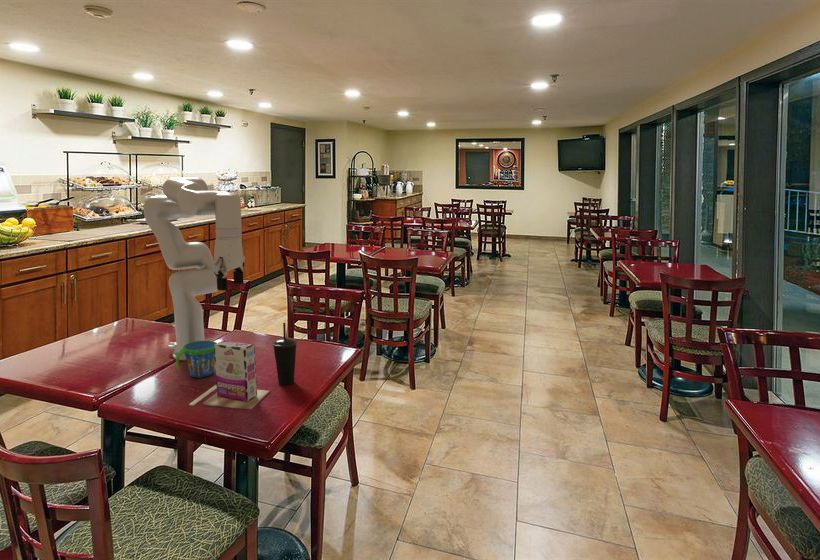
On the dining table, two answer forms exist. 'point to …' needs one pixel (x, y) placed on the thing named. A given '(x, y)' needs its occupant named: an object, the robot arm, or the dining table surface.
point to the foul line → (203, 395)
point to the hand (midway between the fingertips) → (230, 286)
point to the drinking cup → (285, 358)
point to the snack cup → (199, 358)
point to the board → (236, 401)
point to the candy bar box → (235, 370)
